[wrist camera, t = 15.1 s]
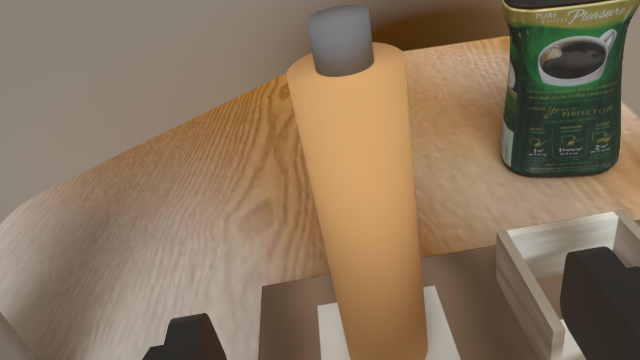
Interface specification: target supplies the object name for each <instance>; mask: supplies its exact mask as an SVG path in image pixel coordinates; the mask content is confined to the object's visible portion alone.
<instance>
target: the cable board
mask: <svg viewBox="0 0 640 360" xmlns="http://www.w3.org/2000/svg"><path fill="white" fill-rule="evenodd" d="M602 246H606V247H608V248H610V249H611V250H612V251H613V252H614V253H615V255H616V256H617V257H618V258H619V259H620V261H621V262H622V263H623V264H624V265H625V267H626V268H629V267H635V266H639V267H640V220H635V221H633V219H632V218H631V217H630V216H629V215H628V214H627V213H626V212H625V211H624V210H619V211H613V212H608V213H602V214H596V215H591V216H585V217H579V218H574V219H568V220H563V221H557V222H551V223H546V224H540V225H534V226H529V227H523V228H518V229H512V230H506V231H501V232H497V245H494V246H488V247H482V248H477V249H471V250H465V251H460V252H454V253H448V254H443V255H437V256H431V257H426V258H421V265H422V277H423V289H424V302H425V314H426V326H427V338H428V353H427V356H426V359H425V360H586V358H585V357H584V355H583V353H582V352H581V350H580V348H579V347H578V345H577V343H576V342H575V340H574V338H573V337H572V335H571V333H570V332H569V330H568V328H567V326H566V324H565V322H564V319H563V316H562V313H561V308H560V294H561V287H562V280H563V273H564V266H565V259H566V255H567V254H568V253H569V252H572V251H578V250H584V249H590V248H596V247H602ZM258 360H351V359H350V356H349V352H348V348H347V343H346V339H345V335H344V330H343V326H342V321H341V317H340V312H339V308H338V303H337V299H336V295H335V290H334V286H333V281H332V277H331V274H330V275H324V276H318V277H313V278H307V279H301V280H296V281H290V282H284V283H279V284H273V285H267V286H262V298H261V318H260V337H259V357H258Z"/></svg>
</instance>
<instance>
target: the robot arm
mask: <svg viewBox="0 0 640 360" xmlns="http://www.w3.org/2000/svg"><path fill="white" fill-rule="evenodd" d="M560 308H561V313H562V316H563V319H564V322H565V324H566V326H567V328H568V330H569V332H570V333H571V335H572V337H573V338H574V340H575V342H576V343H577V345H578V347H579V348H580V350H581V352H582V353H583V355H584V357H585V358H586V360H640V267H639V266H635V267H629V268H626V267H625V265H624V264H623V263H622V262H621V261H620V259H619V258H618V257H617V256H616V255H615V253H614V252H613V251H612V250H611V249H610V248H608V247H606V246H602V247H596V248H590V249H584V250H578V251H572V252H569V253H568V254H567V255H566V259H565V266H564V273H563V280H562V287H561V294H560ZM0 360H37V359H36V358H35V357H34V355H33V354H32V353H31V351H30V350H29V349H28V348H27V346H26V345H25V343H24V342H23V341H22V339H21V338H20V337H19V336H18V334H17V333H16V332H15V330H14V329H13V328H12V327H11V325H10V324H9V323H8V321H7V320H6V319H5V317H4V316H3V315H2V314H1V312H0ZM142 360H227V359H226V355H225V352H224V350H223V348H222V346H221V343H220V341H219V339H218V337H217V334H216V332H215V330H214V327H213V325H212V323H211V321H210V318H209V316H208V315H207V314H206V313H203V314H197V315H191V316H185V317H179V318H174V319H172V320H171V321H170V323H169V326H168V329H167V334H166V338H165V342H164V345H160V346H154V347H150V349H149V350H148V352H147V353H146V355H145V356H144V358H143V359H142Z"/></svg>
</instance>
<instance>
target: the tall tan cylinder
mask: <svg viewBox="0 0 640 360" xmlns="http://www.w3.org/2000/svg"><path fill="white" fill-rule="evenodd" d="M306 22H307V27H308V33H309V38H310V43H311V49H312V53H311V54H309V55H306V56H304V57H303V58H301V59H299V60H298V61H296V62H295V63H294V64H293V65H292V66H291V67H290V68H289V69H288V71H287V81H288V85H289V90H290V94H291V99H292V103H293V107H294V112H295V116H296V121H297V125H298V130H299V134H300V139H301V143H302V148H303V152H304V156H305V161H306V165H307V170H308V174H309V179H310V183H311V188H312V192H313V197H314V201H315V205H316V210H317V214H318V219H319V223H320V228H321V232H322V237H323V241H324V246H325V250H326V254H327V259H328V263H329V268H330V272H331V277H332V281H333V286H334V290H335V295H336V299H337V303H338V308H339V312H340V317H341V321H342V326H343V330H344V335H345V339H346V343H347V348H348V352H349V356H350V359H351V360H425V359H426V356H427V353H428V338H427V326H426V314H425V302H424V289H423V277H422V265H421V253H420V241H419V228H418V216H417V204H416V192H415V180H414V167H413V155H412V143H411V131H410V119H409V106H408V94H407V82H406V70H405V58H404V54H403V52H402V51H401V50H400V49H398V48H396V47H394V46H391V45H388V44H383V43H374V42H372V38H371V29H370V20H369V12H368V9H367V8H366V7H364V6H360V5H343V6H336V7H331V8H328V9H324V10H321V11H318V12H316V13H314V14H312V15H310V16H309V17H308V18H307V20H306Z"/></svg>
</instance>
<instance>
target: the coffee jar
mask: <svg viewBox="0 0 640 360" xmlns="http://www.w3.org/2000/svg"><path fill="white" fill-rule="evenodd" d="M639 4H640V0H502V11H503V15H504V18H505V20H506V23H507V25H508V28H509V33H510V60H509V74H508V83H507V92H506V100H505V107H504V115H503V123H502V134H501V153H502V157H503V160H504V162H505V164H506V165H507V166H508V167H509V168H510V169H512V170H513V171H515V172H517V173H519V174H521V175H526V176H538V177H540V176H541V177H560V176H580V175H590V174H598V173H602V172H604V171H607V170H608V169H610V168H611V167H612V166H614V165H615V163H616V162H617V160H618V157H619V149H620V135H621V75H622V60H623V51H624V43H625V38H626V32H627V28H628V25H629V23H630V20H631V18H632V16H633V15H634V13H635V11H636V10H637V8H638V6H639Z"/></svg>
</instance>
